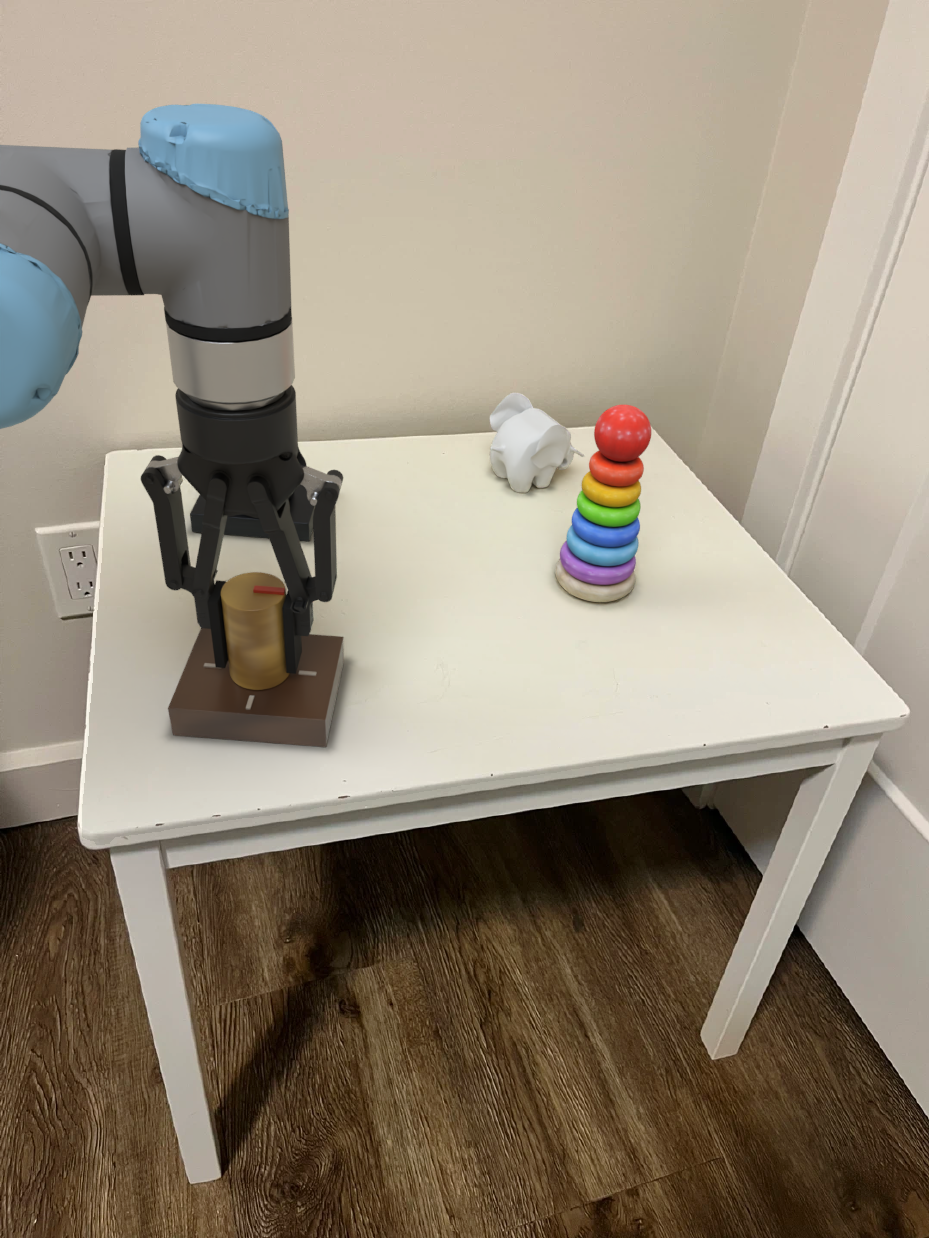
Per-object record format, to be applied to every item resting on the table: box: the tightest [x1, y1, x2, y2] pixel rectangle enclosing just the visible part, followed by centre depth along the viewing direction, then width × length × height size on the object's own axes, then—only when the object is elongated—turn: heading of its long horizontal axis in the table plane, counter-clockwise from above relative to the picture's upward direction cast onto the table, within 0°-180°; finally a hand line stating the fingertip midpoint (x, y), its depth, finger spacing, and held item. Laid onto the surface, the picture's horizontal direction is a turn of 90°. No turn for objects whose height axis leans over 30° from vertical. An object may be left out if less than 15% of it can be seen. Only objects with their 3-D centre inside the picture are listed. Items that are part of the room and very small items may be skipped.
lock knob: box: [221, 571, 289, 690], centre depth 71 cm, size 5×5×8 cm
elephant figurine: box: [489, 391, 586, 494], centre depth 104 cm, size 10×12×9 cm
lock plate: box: [167, 627, 345, 748], centre depth 74 cm, size 12×10×3 cm
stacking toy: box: [555, 404, 652, 603], centre depth 86 cm, size 8×8×19 cm
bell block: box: [189, 484, 315, 542], centre depth 96 cm, size 12×10×4 cm
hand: (259, 658), depth 73 cm, fingers closed on lock knob, 5 cm apart
